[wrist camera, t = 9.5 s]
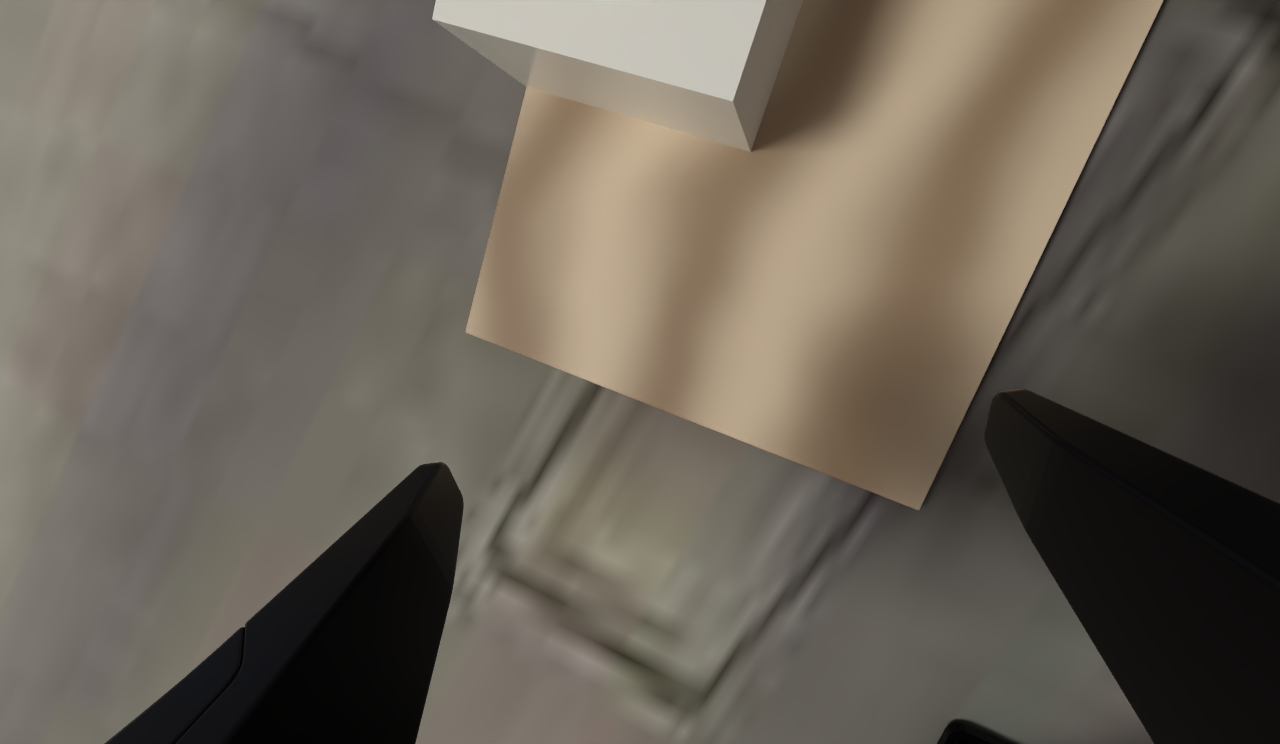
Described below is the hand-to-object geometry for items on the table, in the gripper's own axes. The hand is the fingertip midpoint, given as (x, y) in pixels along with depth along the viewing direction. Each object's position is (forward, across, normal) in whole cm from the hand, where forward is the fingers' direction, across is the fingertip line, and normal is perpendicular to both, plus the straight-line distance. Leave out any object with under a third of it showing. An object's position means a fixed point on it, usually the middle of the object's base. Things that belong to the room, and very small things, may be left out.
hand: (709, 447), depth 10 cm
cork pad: (+14, -3, 0) cm, 14 cm away
